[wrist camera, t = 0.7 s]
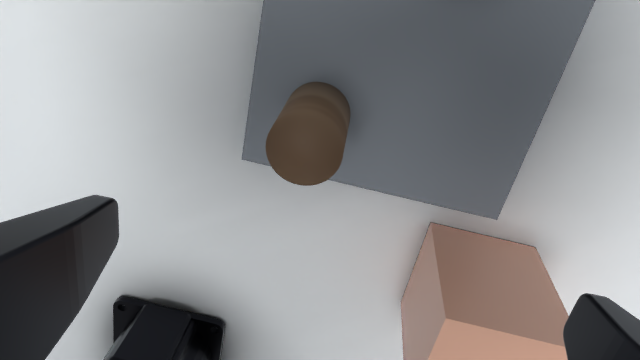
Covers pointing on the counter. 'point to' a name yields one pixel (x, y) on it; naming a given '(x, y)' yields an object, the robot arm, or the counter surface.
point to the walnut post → (309, 134)
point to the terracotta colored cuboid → (480, 301)
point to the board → (420, 87)
